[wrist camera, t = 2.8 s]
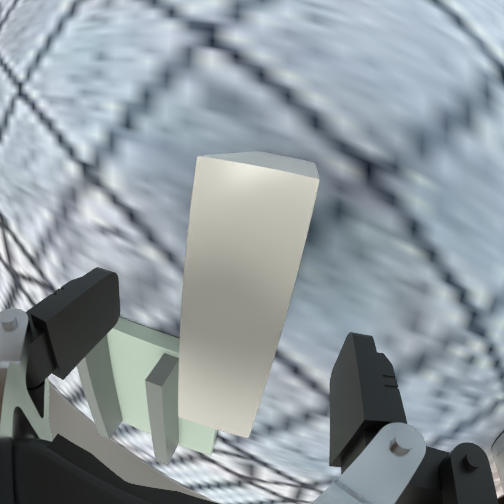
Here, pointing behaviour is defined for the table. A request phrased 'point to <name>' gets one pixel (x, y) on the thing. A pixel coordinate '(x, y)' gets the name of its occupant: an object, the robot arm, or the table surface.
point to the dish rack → (140, 389)
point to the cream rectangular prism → (239, 280)
